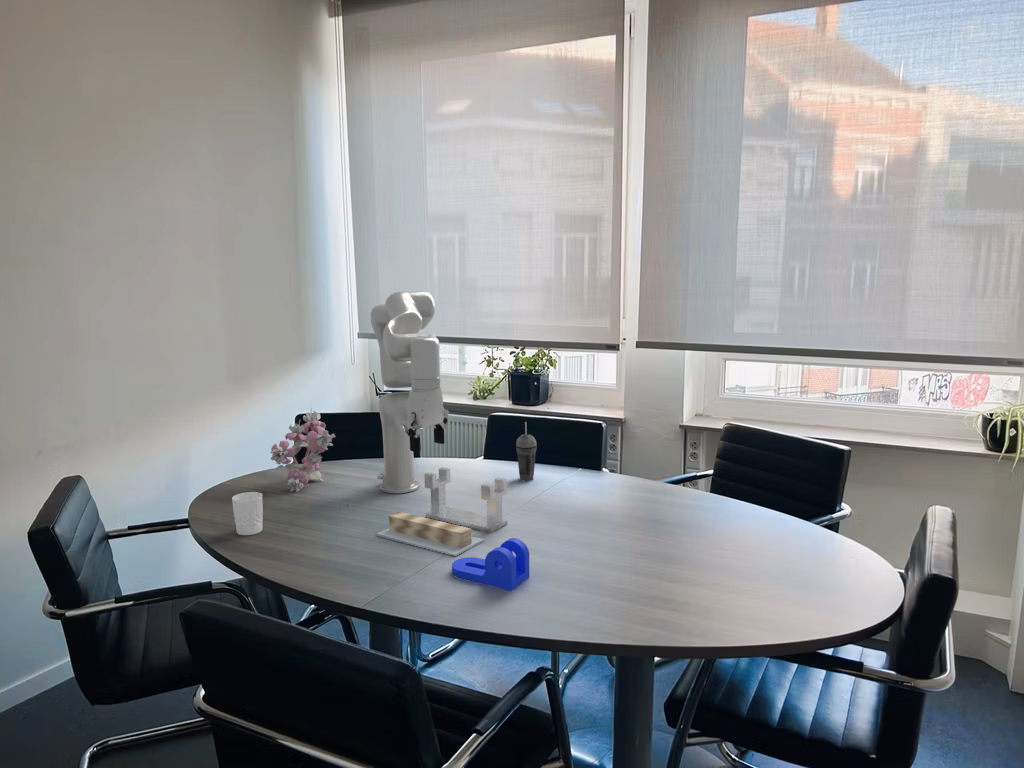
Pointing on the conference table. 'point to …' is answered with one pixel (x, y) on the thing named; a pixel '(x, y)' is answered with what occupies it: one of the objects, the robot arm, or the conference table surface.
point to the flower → (312, 444)
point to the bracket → (497, 566)
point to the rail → (430, 529)
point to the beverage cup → (526, 455)
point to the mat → (427, 542)
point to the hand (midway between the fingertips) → (427, 447)
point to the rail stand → (461, 516)
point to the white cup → (248, 513)
